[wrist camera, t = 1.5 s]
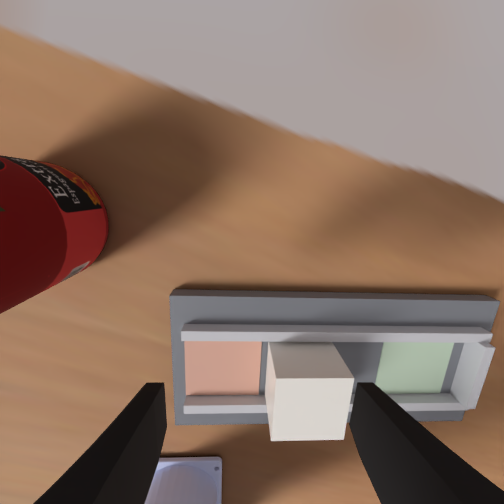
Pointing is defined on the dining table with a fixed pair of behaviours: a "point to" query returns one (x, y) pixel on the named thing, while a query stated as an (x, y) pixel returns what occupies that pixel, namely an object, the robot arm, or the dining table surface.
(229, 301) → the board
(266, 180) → the dining table surface
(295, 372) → the white block
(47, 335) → the dining table surface
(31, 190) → the canned food
